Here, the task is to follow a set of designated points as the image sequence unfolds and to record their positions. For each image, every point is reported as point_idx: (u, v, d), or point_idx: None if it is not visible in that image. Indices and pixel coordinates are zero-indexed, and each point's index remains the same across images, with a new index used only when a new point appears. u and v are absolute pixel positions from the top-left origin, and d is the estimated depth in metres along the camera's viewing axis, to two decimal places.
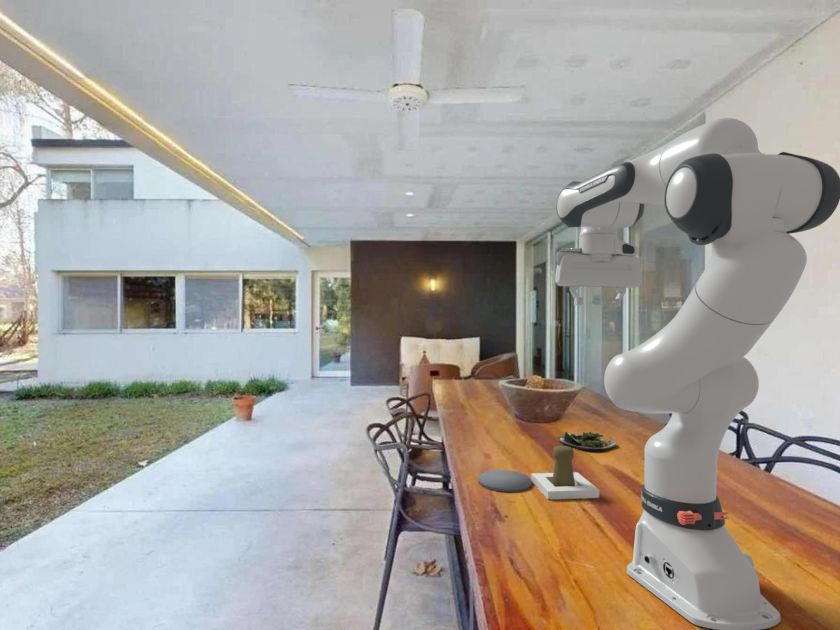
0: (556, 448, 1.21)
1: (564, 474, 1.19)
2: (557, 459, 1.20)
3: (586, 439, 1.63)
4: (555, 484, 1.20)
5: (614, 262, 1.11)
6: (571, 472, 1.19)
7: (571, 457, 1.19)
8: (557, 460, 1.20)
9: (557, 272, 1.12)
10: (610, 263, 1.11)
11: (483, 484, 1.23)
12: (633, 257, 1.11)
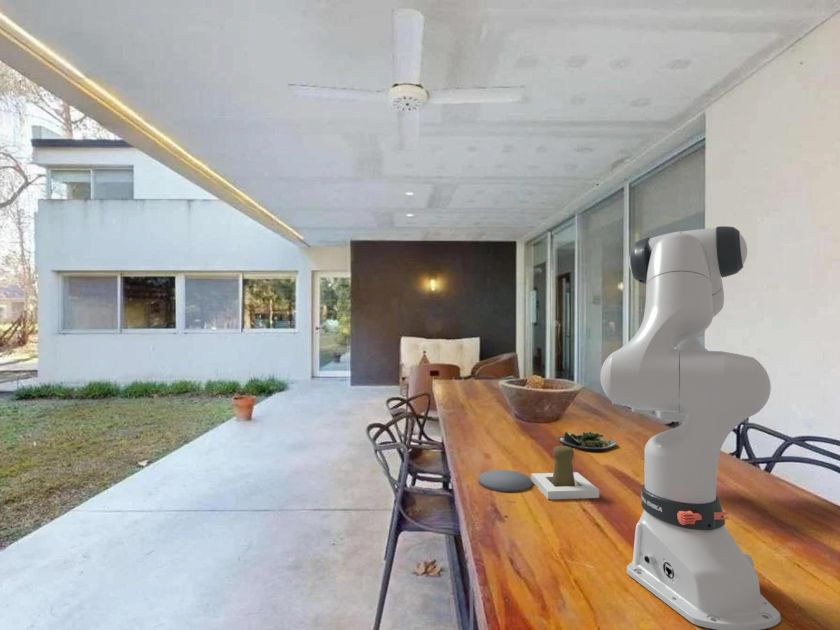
0: (556, 448, 1.21)
1: (564, 474, 1.19)
2: (557, 459, 1.20)
3: (586, 439, 1.63)
4: (555, 484, 1.20)
5: None
6: (571, 472, 1.19)
7: (571, 457, 1.19)
8: (557, 460, 1.20)
9: None
10: None
11: (483, 484, 1.23)
12: None
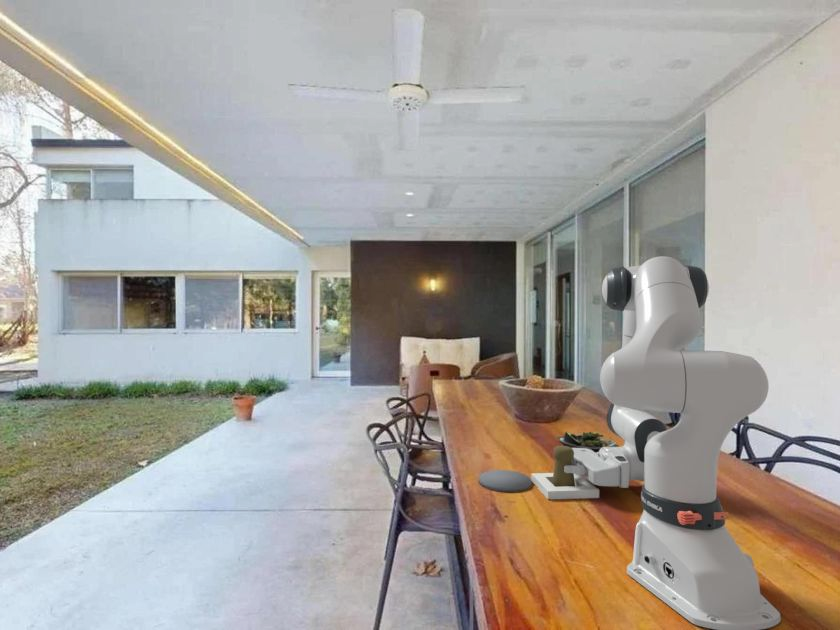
0: (556, 448, 1.21)
1: (564, 474, 1.19)
2: (557, 459, 1.20)
3: (586, 439, 1.63)
4: (555, 484, 1.20)
5: (604, 461, 1.19)
6: None
7: (571, 457, 1.19)
8: (557, 460, 1.20)
9: None
10: (601, 461, 1.19)
11: (483, 484, 1.23)
12: (617, 463, 1.14)
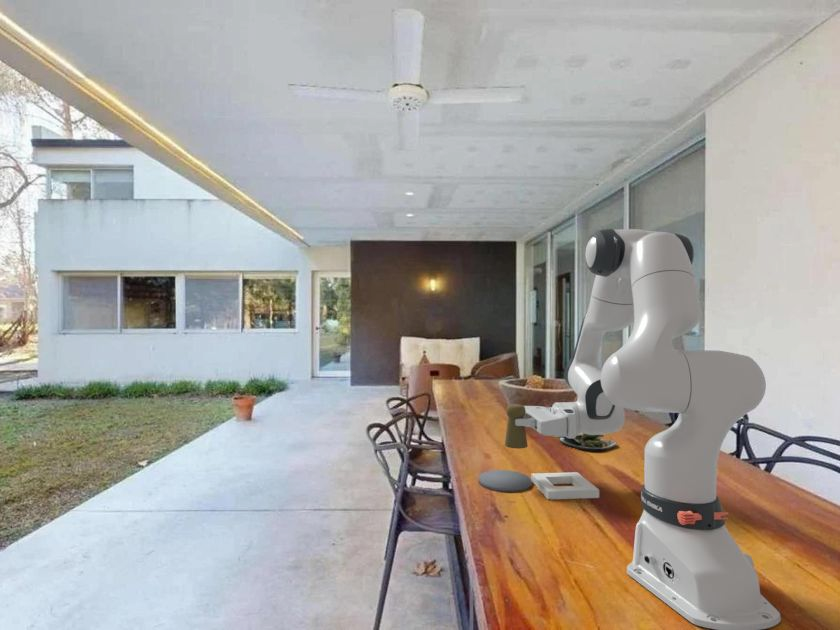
0: (508, 405, 1.25)
1: (514, 430, 1.23)
2: (509, 416, 1.24)
3: (586, 439, 1.63)
4: (507, 440, 1.24)
5: (554, 414, 1.23)
6: (522, 428, 1.23)
7: (521, 414, 1.23)
8: (508, 417, 1.25)
9: None
10: (552, 414, 1.24)
11: (483, 484, 1.23)
12: (564, 415, 1.19)
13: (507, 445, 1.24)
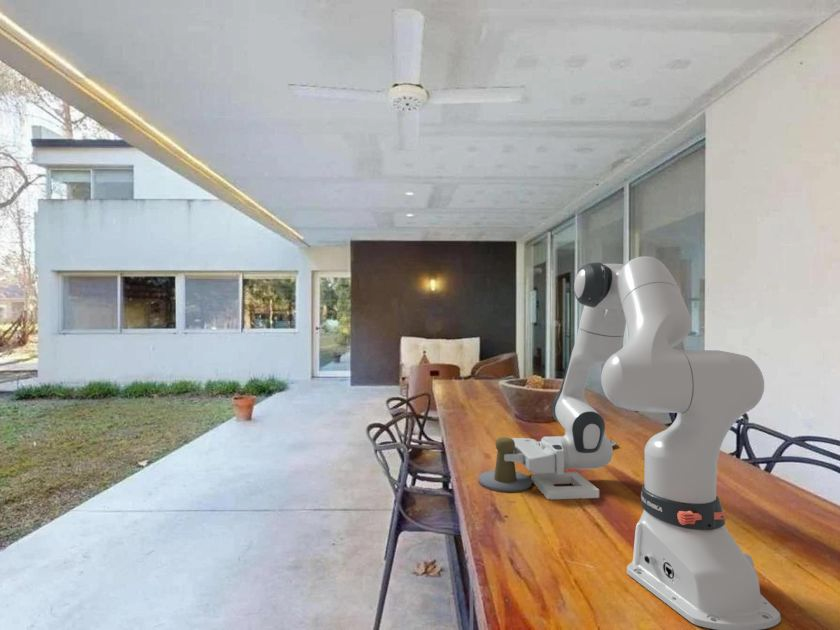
0: (498, 439, 1.25)
1: (504, 465, 1.23)
2: (498, 450, 1.25)
3: None
4: (496, 474, 1.25)
5: (542, 450, 1.23)
6: (511, 463, 1.24)
7: (511, 448, 1.23)
8: (498, 450, 1.25)
9: None
10: (540, 449, 1.24)
11: (483, 484, 1.23)
12: (553, 451, 1.19)
13: (496, 479, 1.24)
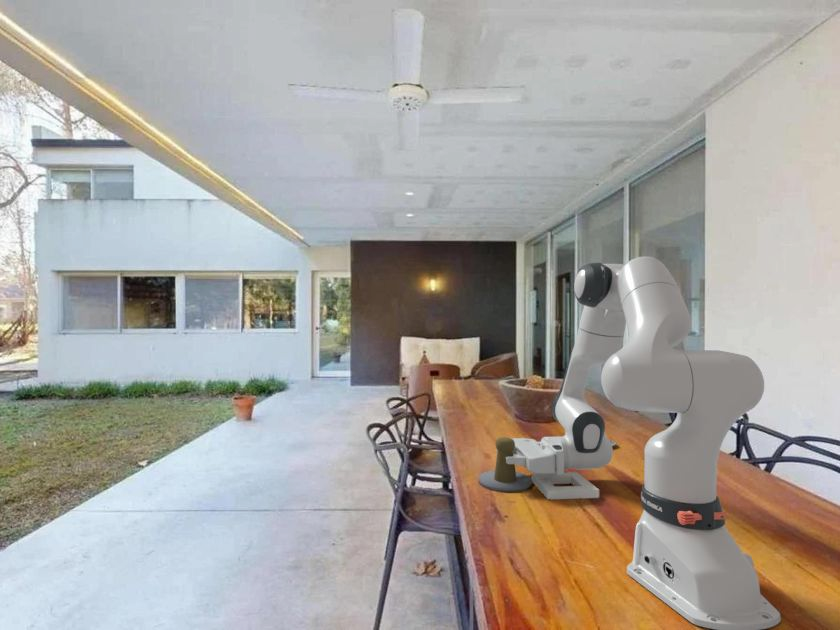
0: (498, 439, 1.25)
1: (504, 465, 1.23)
2: (498, 450, 1.25)
3: None
4: (496, 474, 1.25)
5: (542, 450, 1.23)
6: None
7: (511, 448, 1.23)
8: (498, 450, 1.25)
9: None
10: (540, 450, 1.24)
11: (483, 484, 1.23)
12: (553, 452, 1.19)
13: (496, 479, 1.24)
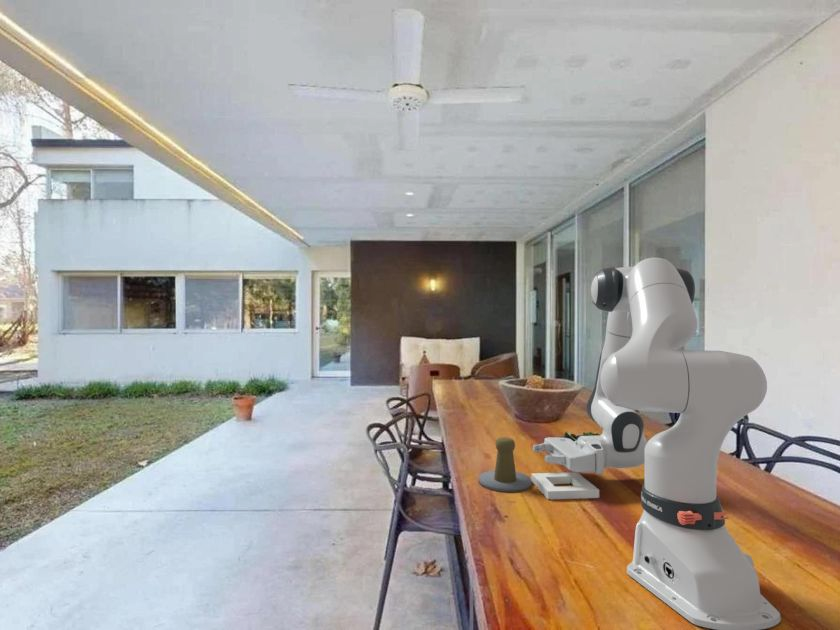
0: (498, 439, 1.25)
1: (504, 465, 1.23)
2: (498, 450, 1.25)
3: None
4: (496, 474, 1.25)
5: (581, 449, 1.24)
6: (511, 463, 1.24)
7: (511, 448, 1.23)
8: (498, 450, 1.25)
9: None
10: (578, 449, 1.25)
11: (483, 484, 1.23)
12: (592, 451, 1.20)
13: (496, 479, 1.24)
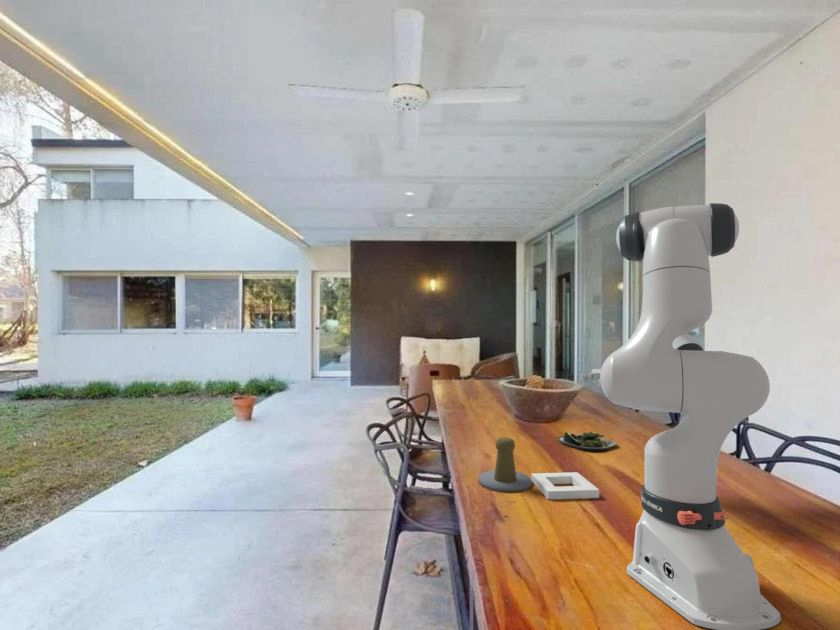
0: (498, 439, 1.25)
1: (504, 465, 1.23)
2: (498, 450, 1.25)
3: (586, 439, 1.63)
4: (496, 474, 1.25)
5: None
6: (511, 463, 1.24)
7: (511, 448, 1.23)
8: (498, 450, 1.25)
9: None
10: None
11: (483, 484, 1.23)
12: None
13: (496, 479, 1.24)
